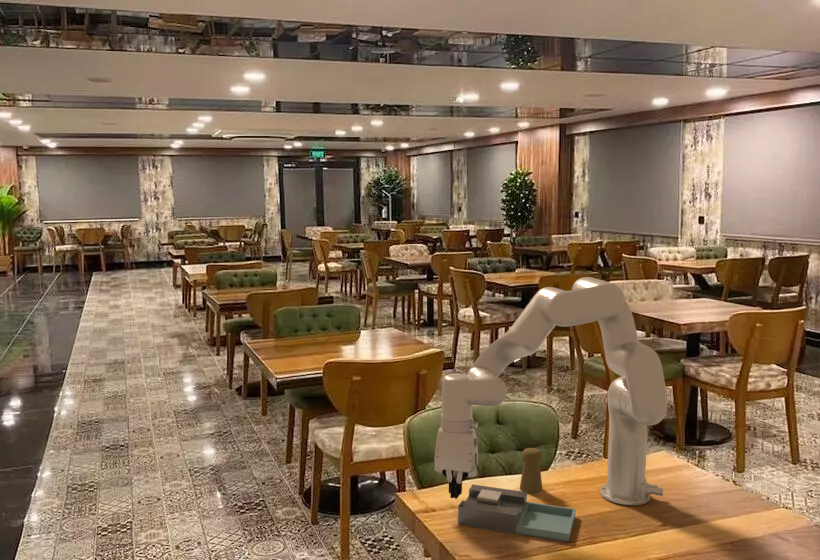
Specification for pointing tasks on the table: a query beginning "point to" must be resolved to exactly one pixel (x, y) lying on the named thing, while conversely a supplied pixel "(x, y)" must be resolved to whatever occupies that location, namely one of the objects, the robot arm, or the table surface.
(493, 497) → the tan square block
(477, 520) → the slotted ledge
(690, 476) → the table surface
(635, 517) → the table surface
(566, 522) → the tray
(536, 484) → the brown pepper mill
